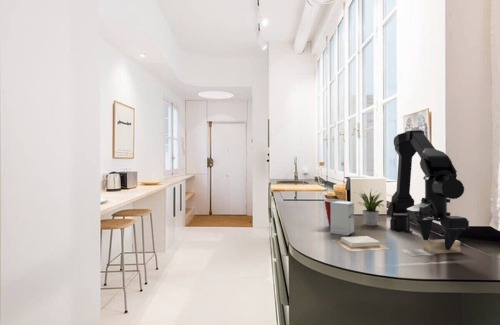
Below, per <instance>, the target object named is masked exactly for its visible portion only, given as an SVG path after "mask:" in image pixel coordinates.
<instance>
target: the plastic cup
mask: <svg viewBox="0 0 500 325" xmlns="http://www.w3.org/2000/svg"><path fill="white" fill-rule="evenodd" d="M323 201H324V204H325V211H326V215H327V216H326V217H327V221H328V222H327V223H328V226H330V228H331V203H332V202H336V201H344V202H349V201H348V200H345V199H338V198H323Z"/></svg>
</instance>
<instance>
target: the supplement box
mask: <svg viewBox="0 0 500 325" xmlns="http://www.w3.org/2000/svg"><path fill="white" fill-rule="evenodd" d="M330 233H331V234H336V235H344V236H349V235H351V234H353V233H355V202H354V201H348V202H344V201H336V202H332V203H331V227H330Z"/></svg>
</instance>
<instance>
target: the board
mask: <svg viewBox="0 0 500 325" xmlns="http://www.w3.org/2000/svg"><path fill="white" fill-rule="evenodd" d="M332 241H333V242H334V243H336V244H338V245H339V246H340V247H342V248H344V249H345V250H347V251H349V252H359V251H360V252H361V251H380V250H391V248H389V247H388V246H386V245H384V244H381V243H380V246H379V247H359V248H351V247H350V246H348V245H346V244H345V243H343V242H342V241H341V239H332Z"/></svg>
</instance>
